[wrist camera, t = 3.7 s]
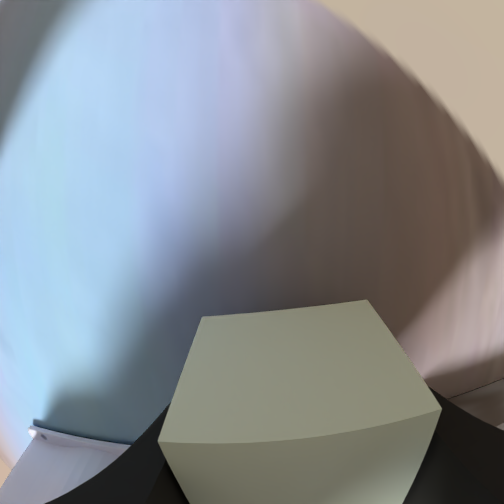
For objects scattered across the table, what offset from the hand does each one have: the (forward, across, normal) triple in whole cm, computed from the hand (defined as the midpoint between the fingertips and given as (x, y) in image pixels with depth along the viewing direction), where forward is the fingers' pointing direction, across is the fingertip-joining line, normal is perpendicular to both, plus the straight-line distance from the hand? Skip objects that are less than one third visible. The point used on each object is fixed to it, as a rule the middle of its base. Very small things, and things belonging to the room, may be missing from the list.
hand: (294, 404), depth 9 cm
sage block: (+2, 0, 0) cm, 2 cm away
